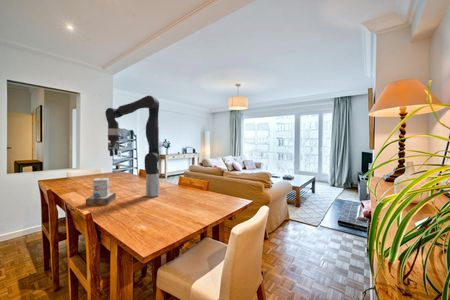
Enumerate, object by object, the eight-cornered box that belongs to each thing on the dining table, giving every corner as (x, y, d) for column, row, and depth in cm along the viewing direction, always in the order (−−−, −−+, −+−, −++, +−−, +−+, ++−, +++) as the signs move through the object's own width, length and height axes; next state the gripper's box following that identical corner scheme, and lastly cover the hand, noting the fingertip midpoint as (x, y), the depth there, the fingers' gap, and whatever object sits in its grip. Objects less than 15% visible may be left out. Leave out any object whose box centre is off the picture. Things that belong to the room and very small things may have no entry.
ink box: (92, 197, 125) (92, 180, 125) (95, 195, 130) (94, 178, 129) (107, 196, 128) (107, 179, 127) (109, 194, 133) (109, 177, 132)
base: (115, 198, 137) (115, 192, 137) (107, 204, 124) (107, 198, 124) (96, 199, 135) (95, 193, 135) (85, 205, 122) (85, 199, 122)
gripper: (114, 134, 139) (115, 156, 140) (122, 134, 153) (122, 154, 154) (103, 134, 138) (104, 156, 139) (112, 134, 152) (112, 154, 153)
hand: (113, 155), depth 147 cm, fingers open, 8 cm apart
